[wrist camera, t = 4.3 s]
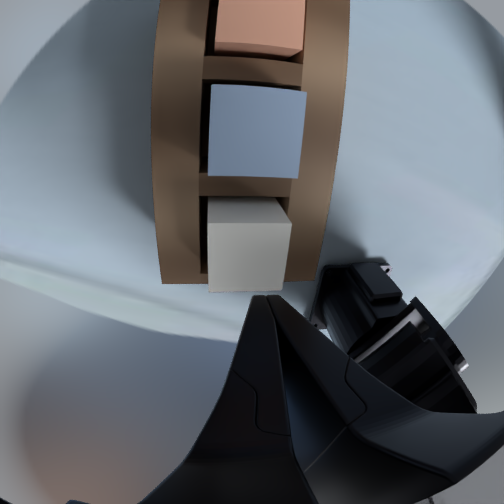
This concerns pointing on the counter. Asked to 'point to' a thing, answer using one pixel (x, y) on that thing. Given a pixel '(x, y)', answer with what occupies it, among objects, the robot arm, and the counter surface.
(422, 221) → the counter surface
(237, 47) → the key terracotta
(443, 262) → the counter surface
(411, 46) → the counter surface
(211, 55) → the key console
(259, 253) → the key cream
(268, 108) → the key blue
